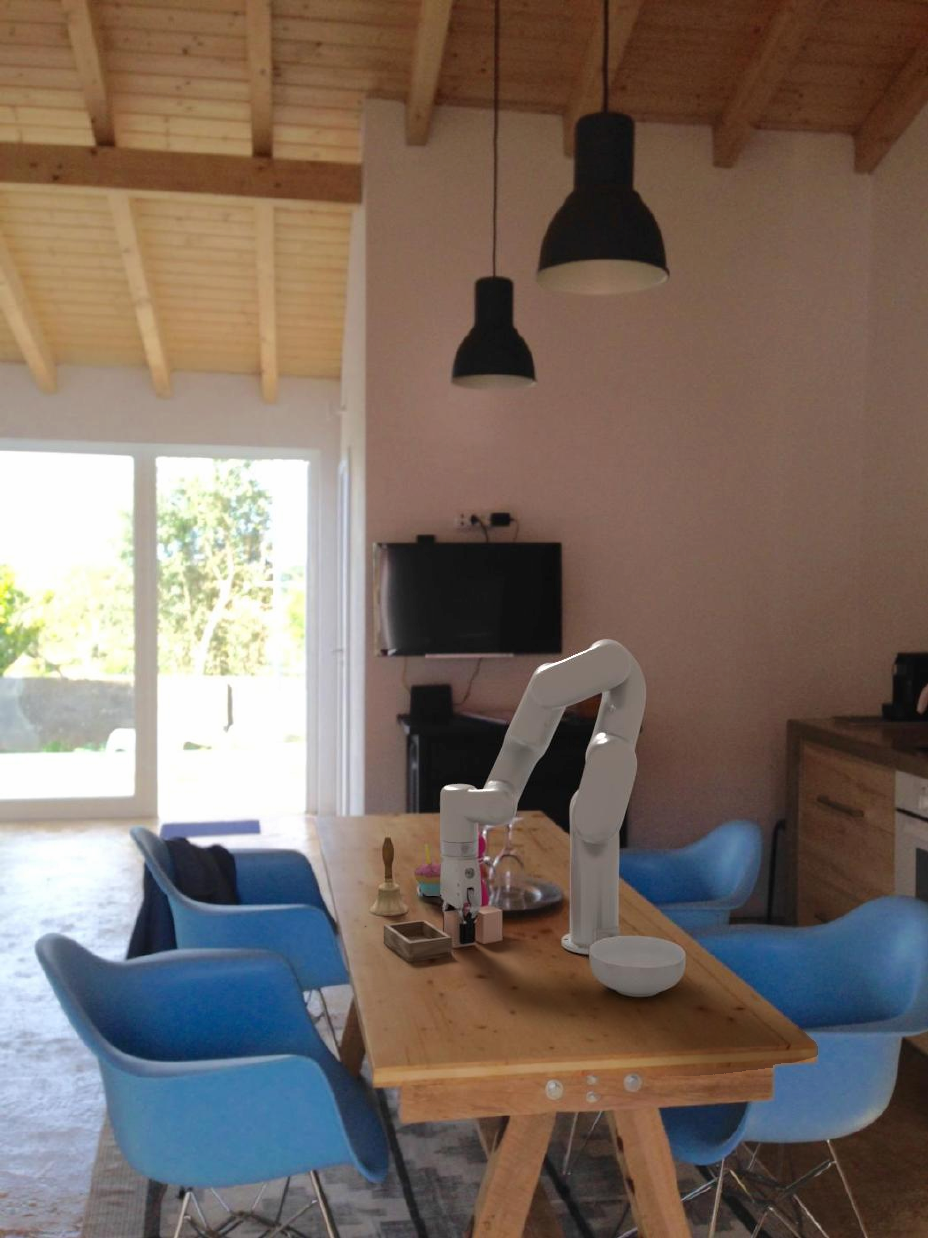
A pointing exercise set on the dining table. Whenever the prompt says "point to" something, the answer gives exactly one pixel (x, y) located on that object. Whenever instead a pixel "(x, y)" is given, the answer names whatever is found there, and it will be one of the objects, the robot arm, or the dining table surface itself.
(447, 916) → the pale pink block
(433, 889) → the cupcake
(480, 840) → the pepper mill
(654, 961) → the cereal bowl
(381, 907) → the hand bell
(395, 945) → the walnut crate
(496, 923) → the pale pink block
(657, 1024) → the dining table surface
